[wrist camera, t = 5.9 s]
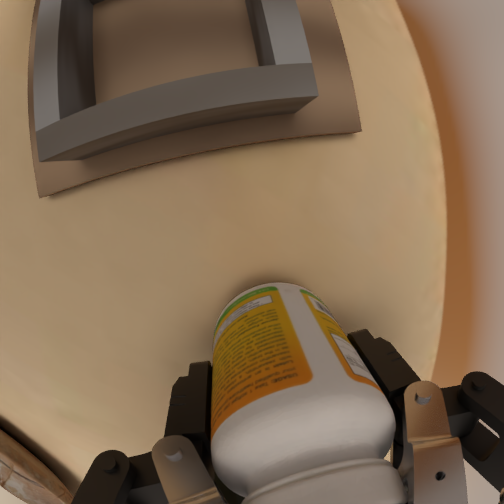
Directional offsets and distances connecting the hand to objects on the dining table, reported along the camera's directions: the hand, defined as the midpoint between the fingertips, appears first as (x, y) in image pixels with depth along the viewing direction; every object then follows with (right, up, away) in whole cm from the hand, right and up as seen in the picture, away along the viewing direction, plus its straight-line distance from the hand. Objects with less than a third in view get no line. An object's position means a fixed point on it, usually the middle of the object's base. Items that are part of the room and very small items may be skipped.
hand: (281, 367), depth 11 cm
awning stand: (-6, +21, -2) cm, 22 cm away
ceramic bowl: (-33, -22, +10) cm, 41 cm away
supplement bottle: (0, +1, +3) cm, 3 cm away
